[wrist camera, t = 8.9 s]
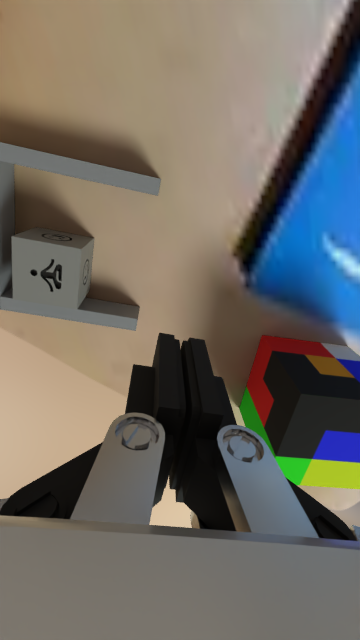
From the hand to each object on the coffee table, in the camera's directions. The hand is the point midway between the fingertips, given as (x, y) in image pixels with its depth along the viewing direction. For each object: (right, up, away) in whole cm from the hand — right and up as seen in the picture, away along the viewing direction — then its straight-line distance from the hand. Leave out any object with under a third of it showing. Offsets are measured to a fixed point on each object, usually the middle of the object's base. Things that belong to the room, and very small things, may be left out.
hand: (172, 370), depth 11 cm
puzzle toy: (+13, -5, +24) cm, 28 cm away
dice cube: (-10, +7, +17) cm, 21 cm away
